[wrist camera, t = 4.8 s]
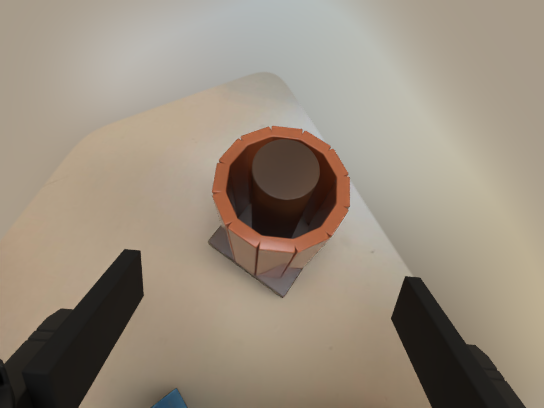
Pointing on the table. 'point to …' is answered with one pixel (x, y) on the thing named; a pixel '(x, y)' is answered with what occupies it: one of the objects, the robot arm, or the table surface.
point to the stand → (277, 200)
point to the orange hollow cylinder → (318, 214)
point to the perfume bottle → (171, 401)
